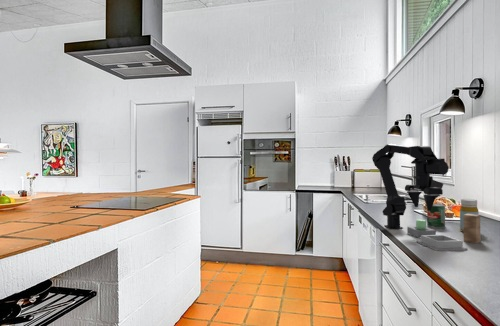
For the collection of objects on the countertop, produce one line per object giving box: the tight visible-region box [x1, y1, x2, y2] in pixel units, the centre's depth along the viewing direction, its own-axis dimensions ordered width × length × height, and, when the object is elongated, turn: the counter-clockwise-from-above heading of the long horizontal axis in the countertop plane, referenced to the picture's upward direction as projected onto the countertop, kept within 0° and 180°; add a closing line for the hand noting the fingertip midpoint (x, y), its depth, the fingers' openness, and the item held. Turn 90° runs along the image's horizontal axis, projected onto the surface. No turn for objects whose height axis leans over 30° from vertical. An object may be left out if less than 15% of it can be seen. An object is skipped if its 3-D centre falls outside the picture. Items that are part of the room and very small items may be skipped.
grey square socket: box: [416, 234, 468, 252], centre depth 119 cm, size 12×12×3 cm
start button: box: [415, 219, 427, 230], centre depth 136 cm, size 4×4×5 cm
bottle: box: [459, 198, 479, 233], centre depth 141 cm, size 7×7×15 cm
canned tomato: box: [426, 203, 446, 229], centre depth 154 cm, size 8×8×11 cm
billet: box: [463, 214, 482, 244], centre depth 125 cm, size 4×4×11 cm
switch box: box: [406, 226, 437, 239], centre depth 136 cm, size 8×8×3 cm
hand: (422, 208), depth 135 cm, fingers open, 9 cm apart
